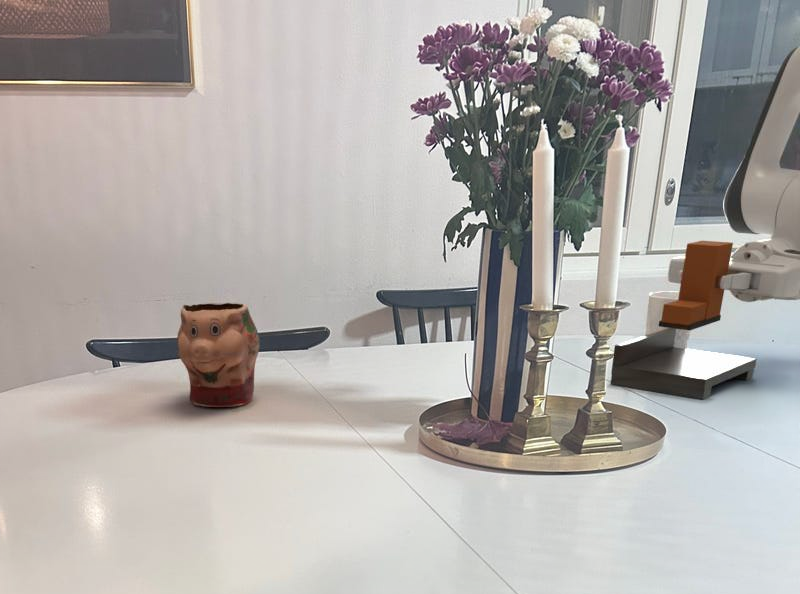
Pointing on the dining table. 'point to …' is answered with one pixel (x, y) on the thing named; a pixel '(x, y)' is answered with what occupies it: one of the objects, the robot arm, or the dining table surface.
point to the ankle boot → (699, 287)
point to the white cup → (655, 316)
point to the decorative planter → (218, 353)
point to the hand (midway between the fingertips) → (700, 280)
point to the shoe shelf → (674, 366)
